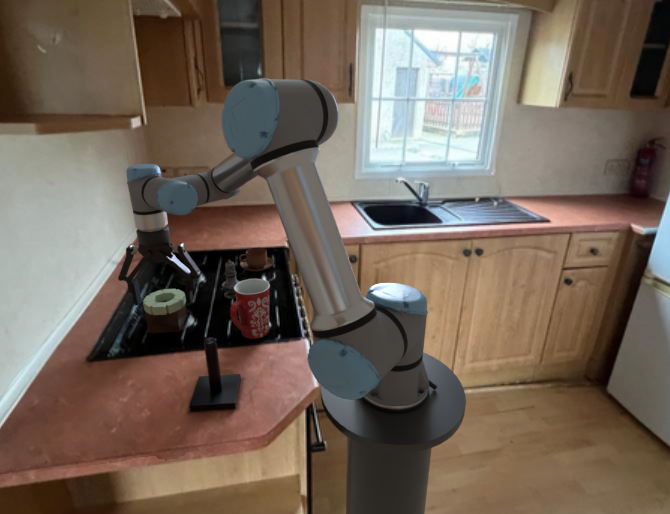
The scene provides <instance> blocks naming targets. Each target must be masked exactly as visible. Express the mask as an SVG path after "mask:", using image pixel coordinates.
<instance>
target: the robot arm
mask: <svg viewBox="0 0 670 514" xmlns="http://www.w3.org/2000/svg"><path fill="white" fill-rule="evenodd" d="M224 99H225V100H224V101H223V109H222V111H221V129H222V134H223V139H224V141H225V143H226V145H227V148H228V149H229V150H230V151H231V152H232V153H231V154H230V155H228V156H227V157H226V158H224V159H223V160H222V161H220V162H219V163H218V164H216V165H215V166H213V168H211V169H209V170H208V171H204V172H199V173H198V172H197V173H194V174H188V175H182V176H178V177H171V178H170V177H169V178H167V177H163V174H162V171H161V167H159V165H157V164H154V163H142V164H141V163H139V164H134V165H133V164H132V165H130V166H128V167H127V168H126V170H125V172H126V181H127V182H126V185H127V188H128V193H129V199H130V203H131V208H132V215H133V221H134V227H135V228H136V230H135V231H136V232H135V233H136V238H137V243H138V245H134V244H133V243H129V245H128V246H127V247H126V248H125V259H124V261H123V263H122V266H121V269H120V271H119V274H118V277H117V280H118V281H120V282H122V281H123V282H126V284H127V290H128V293H129V294H132V298H133V302H134V306H139V305H140V303H141V302H142V296H141V295H142V294H141V291H140V283H139V280H138V278H136V276H137V275H138V273H139V272H140V271H141V269H142V268H143V267H144V266H145V264H146V263H147V262H149V263H150V264H153V263H154V264H155V263H164V262H165V263H166V264H168V265H170V266H171V267H172V268H174V269H175V270H176V271H177V272H178V273H179V274H180V275H182V276H183V278H185V281H184V285H185V286H184V287H185V293H186V301H187V304H192V301H193V299H194V295H193V291H195V288H196V282H195V281H196V280H195V279H199V278H200V276H201V273H202V272H201V270H200V268H199V267H198V266H197V264H196V263H195V261H194V260H193V258H192V257H191V255H190V254H189V253H188V251H187V248H186V246H185V243H184V242H180V243H179V244H173V243H172V241H171V233H170V232H171V231H170V226H169V219H168V214H169V215H173V216H175V215H176V216H186V215H189V214H190V213H191V212H193V210H195V208H196V207H199V206H202V205H203V206H204V205H207V204H210V203H214V202H218V201H222V200H228V199H230V198H232V197H235V196H237V195H239V193H240V191H241V189H242V188H244V187H245V185H247V184H248V185H249V183H251V182H252V181H254V180H256V179H257V178H258V177H260V178H262V179H264V181H265V182H266V183H267V186H268V189H269V191H270V194H271V197H272V200H273V202H274V203H273V204H274V206H275V208H276V211H277V214H278V216H279V219H280V221H281V225H282V227H283V230H284V233H285V235H286V238H287V241H288V244H289V247H290V249H291V252H292V254H293V255H292V256H293V258H294V260H295V262H296V265H297V268H298V271H299V273H300V277H301V280H302V282H303V285H304V287H305V291H306V293H307V297H308V298H309V301H310V304H311V307H312V309H313V312H314V315H313V317H312V320H311V321H310V324H309V327H310V330H311V333H312V335H313V339H314V342H313V343H312V344H311V345H310V347H309V349H308V353H307V356H306V357H307V363H308V367H309V370H310V372H311V374H312V375H313V377H314V378H315V380H316V381H317V382H318V383H319V384H320V386H321V385H322V386H323V387H324V388H325V389H327V390H328V391H329V392H331V393H332V394H334V395H335V396H337V397H340V398H343V399H347V400H356V399H360V398H361V399H362V400H363V401H364V402H365V403H366V404H367V405H369V406H370V407H372V408H374V409H376V410H379V411H382V412H386V413H396V414H398V413H407V412H411V411H414V410H416V409H418V408H419V407H421V406H422V405H423V404H424V403H425V402H426V400H427V398H428V394H429V386H430V387H431V388H433V389H434V390H435V389H436V388H437V385H435V384H434V383H432V382H431V381H430V380H428V377H427V373H426V370H425V366H424V363H423V352H424V349H425V338H426V328H427V318H428V314H429V311H428V298H427V296H426V295H425V294H424V293H423V292H422V291H421V290H419V289H418V288H415V287H414V286H411V285H407V284H404V283H397V282H379V283H376V284H373V285H372V286H370V287H369V288H368V289H367V292H366V295H365V296H363V294H362V292H361V289H360V286H359V284H358V281H357V277H356V275H355V272H354V269H353V266H352V263H351V261H350V258H349V255H348V252H347V249H346V247H345V244H344V241H343V237H342V236H341V233H340V230H339V227H338V224H337V221H336V218H335V215H334V213H333V209H332V207H331V205H330V201H329V199H328V195H327V193H326V190H325V188H324V184H323V182H322V178H321V176H320V173H319V171H318V168H317V165H316V162H317V159H318V156H319V154H320V152H321V148H320V146H321V145H322V144H324V143H326V142H327V141H329V139H330V138H332V137H333V135H334V134H335V132H336V130H337V127H338V124H339V119H340V118H339V117H340V112H339V106H338V103H337V100H336V98H335V96H334V94H333V93H332V92H331V90H329V89H328V88H327V87H326V86H324V85H323V84H321V83H319V82H318V81H315V80H311V79H303V78H302V79H283V78H282V79H277V78H273V79H272V78H266V77H259V78H256V79H244V80H242V81H239V82H237V83H236V84H234V86H233V87H231V89H230V91H228V93H227V95H226V97H225V98H224ZM173 251H175V253H176V254H178V255H179V258H180V259H181V260H182V262H181V261H180V259H178V258H177V257H176V255H175V254H174V253H173ZM137 252H138V253H139V254H140V255H141V256H142V258H141V259H140V260H139V261H138V263H137V265H136V266H135V267H134V269H133V270H132V271H131V272H130V273H129V270H130V267H131V264H132V262H133V259H134V257H135V255H136V254H137ZM128 273H129V274H128Z"/></svg>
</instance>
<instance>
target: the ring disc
mask: <svg viewBox="0 0 670 514" xmlns="http://www.w3.org/2000/svg"><path fill="white" fill-rule="evenodd" d="M185 293H186V292H184V291H183V290H180V289H179V288H178V289H176V288H163V289H159V290H156V291H154V292H151V293H149V294H148V295H146V296H145V297H144V298H143V300H142V304H143V309H144V312H145V313H146V312H147V313H149V314H150V315H151V314H153V315H166V314H167V313H169V314H171V313H173V312H175V311H177V310H180V309H181V308H183V307H184V305H185V304H186V302H187V296H186V294H185ZM169 300H170V301H169ZM162 301H167V302H162Z"/></svg>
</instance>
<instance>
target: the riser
mask: <svg viewBox="0 0 670 514" xmlns="http://www.w3.org/2000/svg"><path fill="white" fill-rule="evenodd" d="M169 301H170V300H169ZM162 302H167V301H162ZM144 315H145V320H146V326H147V330H148V334H165V333H180V332H181V330H182V329H183V326H184V324H185V321H186V320H187V318H188V311H187V306H186V303H185V305H184V307H183V308H181V309H180V310H177V311H175V312H173V313H171V314H169V313H167V314H166V315H153V314H151V315H150V314H149V313H147V312H146V311H145V314H144Z"/></svg>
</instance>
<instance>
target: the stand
mask: <svg viewBox="0 0 670 514" xmlns="http://www.w3.org/2000/svg"><path fill="white" fill-rule="evenodd" d="M203 347H204V354H205V361H206V369H207V375H198V378H197V381H196V383H195V387H194V390H193V393H192V396H191V399H190V402H189V405H188V409H189V412H190V413H191V412H193V413H194V412H206V411H222V410H235V409H237V403H238V397H239V393H240V392H239V391H240V387H241V381H242V376H241V373H230V374H221V369H220V368H221V367H220V362H219V361H220V359H219V350H218V343H217V338H216V337H213V336H211V337H210V336H209V337H207V338H205V339H204V340H203Z"/></svg>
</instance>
